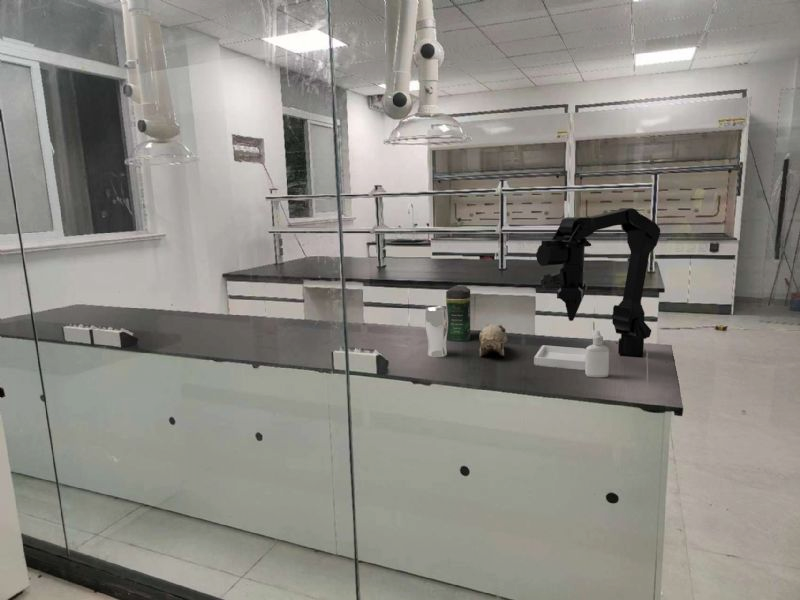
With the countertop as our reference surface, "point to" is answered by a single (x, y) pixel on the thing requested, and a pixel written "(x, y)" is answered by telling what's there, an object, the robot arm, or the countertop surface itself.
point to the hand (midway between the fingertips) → (571, 319)
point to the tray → (561, 357)
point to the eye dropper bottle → (597, 358)
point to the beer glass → (436, 330)
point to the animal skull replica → (492, 339)
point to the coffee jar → (458, 313)
